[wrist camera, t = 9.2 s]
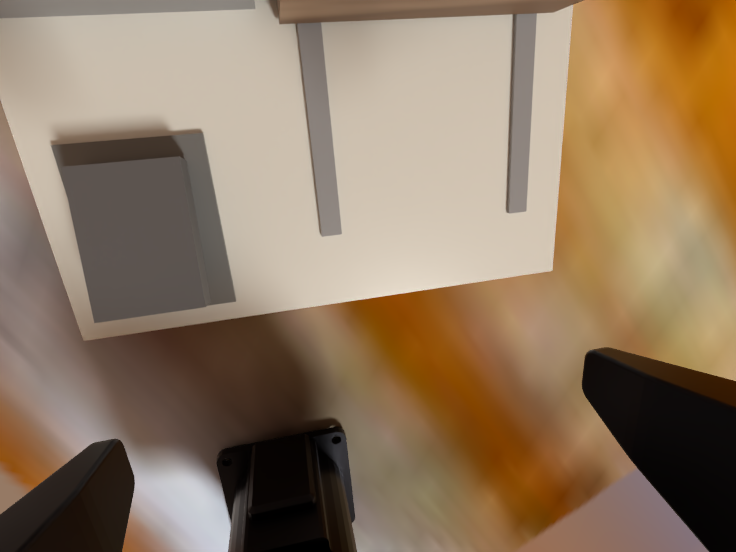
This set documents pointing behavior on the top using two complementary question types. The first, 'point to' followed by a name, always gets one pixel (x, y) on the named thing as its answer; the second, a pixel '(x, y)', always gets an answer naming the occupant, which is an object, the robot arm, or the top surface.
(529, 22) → the panel
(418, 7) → the slider bar
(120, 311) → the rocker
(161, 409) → the top surface
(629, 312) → the top surface
